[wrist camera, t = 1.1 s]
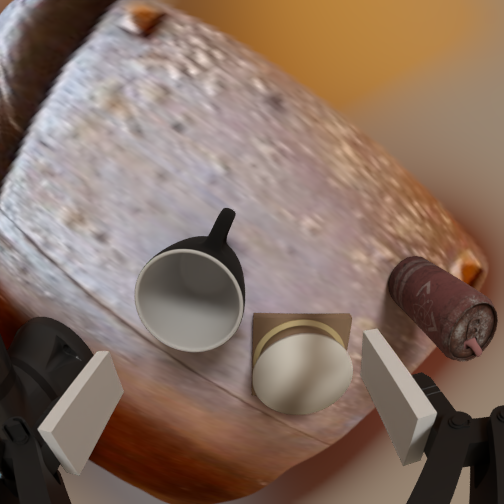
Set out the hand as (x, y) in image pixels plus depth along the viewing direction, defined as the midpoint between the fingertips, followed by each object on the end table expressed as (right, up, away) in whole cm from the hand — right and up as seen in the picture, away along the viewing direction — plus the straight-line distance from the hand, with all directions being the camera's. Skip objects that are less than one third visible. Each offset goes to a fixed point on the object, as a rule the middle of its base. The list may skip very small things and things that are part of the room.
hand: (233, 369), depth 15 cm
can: (+19, +2, +19) cm, 27 cm away
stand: (+6, -6, +21) cm, 23 cm away
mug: (-3, +6, +19) cm, 20 cm away
